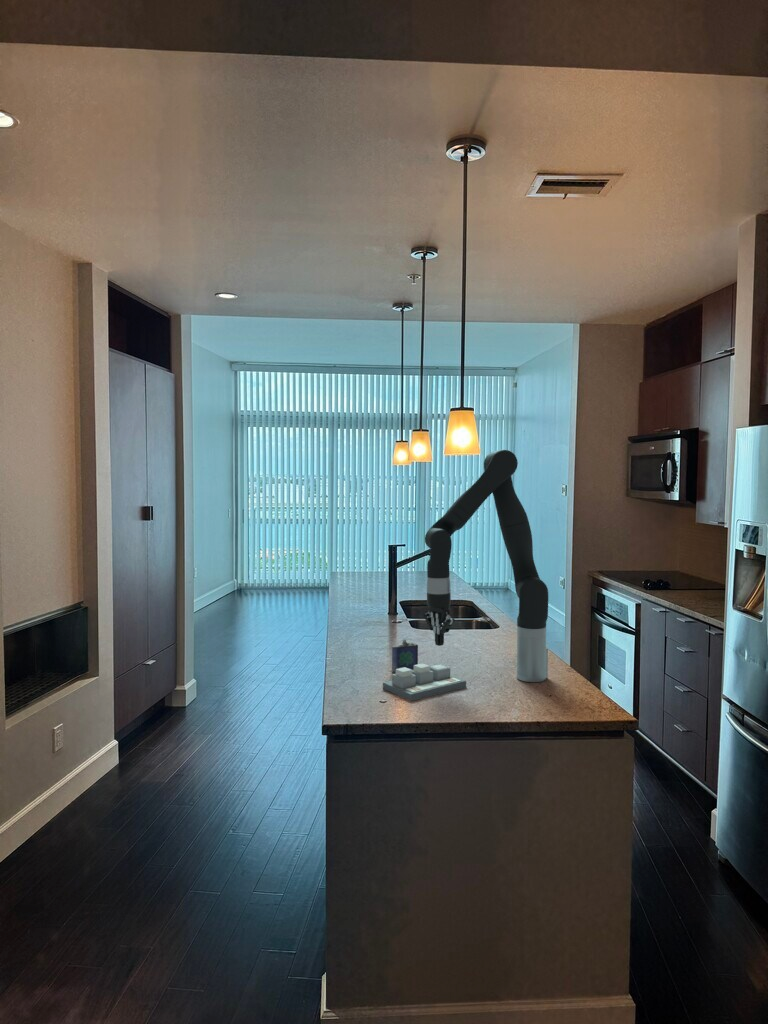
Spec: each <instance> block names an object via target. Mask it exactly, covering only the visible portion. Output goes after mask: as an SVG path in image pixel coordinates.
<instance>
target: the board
mask: <svg viewBox="0 0 768 1024" xmlns="http://www.w3.org/2000/svg"><path fill="white" fill-rule="evenodd" d="M436 665H442V666H445V667H447V668H444V669H440V670H437V669H434V668H431V666H436ZM429 666H430V672H426V673H422V674H420V673H417V672H415V671H414V670H412V676H409V677H404V678H402V677H399V676H397V675H396V673H393V674H391V680H388V681H383V682H382V689H383V690H385V691H387V692H389V693H391V694H394V695H396V696H398V697H401V698H403V699H405V700H407V701H409V702H413V701H417V700H420V699H424V698H428V697H431V696H435V695H439V694H444V693H447V692H453V691H456V690H461V689H464V688H467V680H465V679H463V678H460V677H457V676H454V675H452V674H451V667H449V666H447V665H444V664H440V663H438V664H435V665H429Z"/></svg>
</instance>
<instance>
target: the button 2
mask: <svg viewBox="0 0 768 1024" xmlns="http://www.w3.org/2000/svg"><path fill="white" fill-rule="evenodd" d="M435 665H436V666H433V665H430V666H431V668H434V669H437V670H440V669H444V668H447V667H448V666H447V667H445V666H446V665H444V666H442V665H443V664H441V665H437V664H435Z"/></svg>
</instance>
